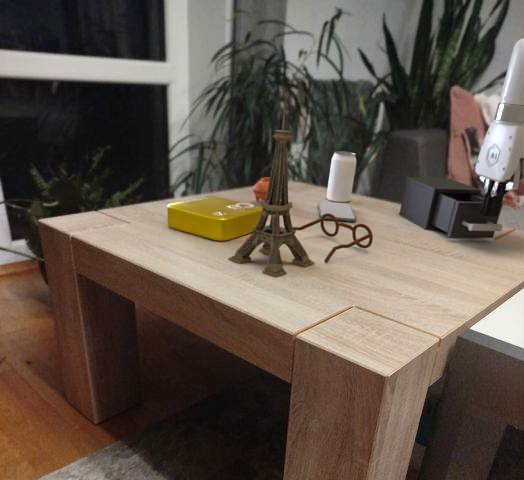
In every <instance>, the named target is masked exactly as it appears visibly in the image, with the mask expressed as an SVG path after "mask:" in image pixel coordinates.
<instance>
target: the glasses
mask: <svg viewBox="0 0 524 480" xmlns="http://www.w3.org/2000/svg"><path fill="white" fill-rule="evenodd" d="M326 216H328V217H331V218H332V219H333V220H332V221H333V222H334V224H335V230H334V233H331V232H329V231H328V230H326V228H325V222H324V221H325V219H324V218H325V217H326ZM319 223H320V228H321V231H322V232H323V234H324V235H326V236H327V237H330V238H333V237H336V236H337V235H338V233H339V230H340V227H343V228H346V229H349V230H350V231H351V235H352V240H353V241H351V242H349V243H346V244H339V245H336V246H332V249H330V251H329V252H328V254H327V255H326V257H325V258H324V259H323V261H324V263H326V264H327V263H328V262H329V261H330V259H331V258H332V256H333V255H334V254H335V252H336V251H338V250H341V249H350V248H351V247H354V246H355V245H356V246H357V247H359V248H361V249H368V248H370V247H371V246H372V244H373V241H374V236H373V232H372V230H371V228H370V227H369V226H368V225H367V224H366V223H365V224H364V223H357V224H355V225H354V226H352V225H351V224H348V223H345V222H340V221H339V220H337V218H336V217H335V216H334V215H332V214H330V213H326V214H324V215H323V216H322V217H321V218H320V217H319V218H317V219H315V220H312V221H311V222H308V223H306V224H303V225H301V226H299V227H298V226H293V229H294V230H296V231H303V230H305V229H308V228H309V227H312V226H314V225H316V224H319ZM358 228H363V229H364V230H366V231H367V234H365V235H363V236H361V237H359V238H357V236H356V235H357V233H356V232H357V229H358ZM365 240H368V242H367V243H366V244H362V242H364V241H365Z"/></svg>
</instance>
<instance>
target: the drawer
mask: <svg viewBox="0 0 524 480" xmlns="http://www.w3.org/2000/svg"><path fill="white" fill-rule="evenodd" d="M483 199H484V197H481V196H480V197H478V196H476V195H473V194H471V193H443V192H437V195H436V199H435V204H434V208H433V212H432V217H431V221H430V224H432V225H434V226H436V227H438V228H440V229H441V230H440V231H443V232H445V233H446V234H447V237H448V238H457V239H458V238H459V239H460V238H463V239H464V238H465V239H466V238H468V239H469V238H471V239H493V238H494V235H495V232H501V231H502V230H503V224H501V223H498V222H499V219H500V215H501V213H502V209H503V205H504V203H502V204H501V207H500V210H499V214H498V216H496V217H494V216H483V215H481V214H480V210H481V206H482V203H483Z"/></svg>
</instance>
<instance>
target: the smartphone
mask: <svg viewBox="0 0 524 480" xmlns="http://www.w3.org/2000/svg"><path fill="white" fill-rule="evenodd" d="M317 206H318V207H317V208H318V211H319V213H318V215H319V219H320V218H321V217H322V216H323V215H324V214H326V213H330V214H332V215H334V216H335V217H336V218H337V220H338V222H341V221H342V222H352V223H354V222H356V221H357V218H356V215H355V212H354V210H353V207H352V204H351V203H349V202H346V203H340V202H333V201H325V200H319V201H318V202H317ZM324 220H329V221H334V220H333V219H332V218H331V217H328V216H326V217H325V218H324Z"/></svg>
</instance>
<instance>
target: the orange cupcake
mask: <svg viewBox="0 0 524 480" xmlns="http://www.w3.org/2000/svg"><path fill="white" fill-rule="evenodd" d="M269 180H270V176H266V177H261V179H260V180H259V181H257V182H256V183H255V184H254V186H253V187H252V193H253V194H254V198H255V201H256V202H257V203H259V202H260V200H262V201H264V202H265V200H266V195H267V190H268V185H269ZM273 198H274V197H273Z"/></svg>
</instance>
